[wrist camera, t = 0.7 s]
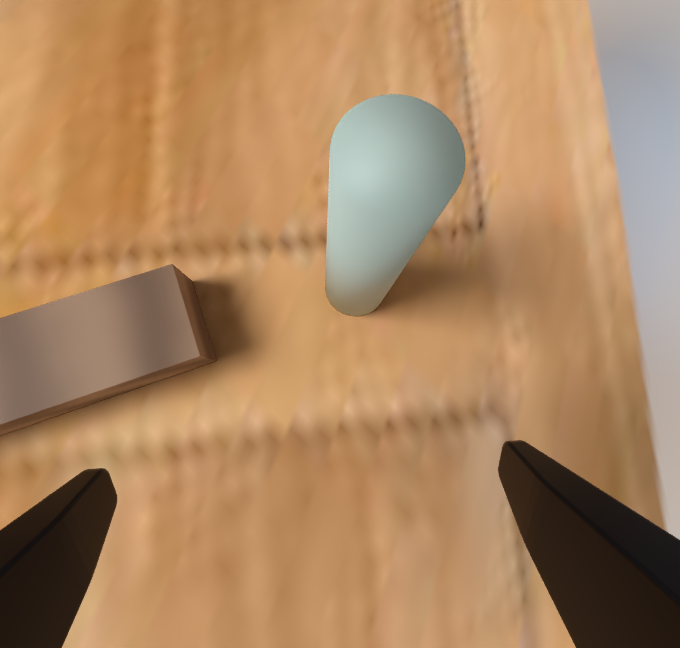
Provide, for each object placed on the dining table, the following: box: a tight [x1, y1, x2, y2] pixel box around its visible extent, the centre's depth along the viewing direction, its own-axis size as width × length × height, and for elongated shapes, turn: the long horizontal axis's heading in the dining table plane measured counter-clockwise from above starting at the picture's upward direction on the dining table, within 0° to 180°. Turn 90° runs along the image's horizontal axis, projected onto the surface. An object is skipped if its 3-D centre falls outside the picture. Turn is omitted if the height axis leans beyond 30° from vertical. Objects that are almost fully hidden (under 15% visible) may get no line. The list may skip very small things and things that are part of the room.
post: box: [325, 94, 465, 316], centre depth 16 cm, size 4×4×13 cm
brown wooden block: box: [0, 264, 217, 435], centre depth 20 cm, size 16×5×3 cm, turn 110°
